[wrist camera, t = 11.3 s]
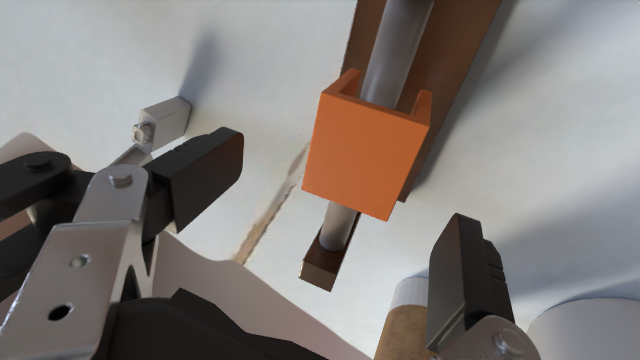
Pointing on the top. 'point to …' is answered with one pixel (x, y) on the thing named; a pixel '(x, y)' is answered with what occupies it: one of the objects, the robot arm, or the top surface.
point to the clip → (363, 148)
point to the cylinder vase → (589, 330)
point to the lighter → (156, 130)
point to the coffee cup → (406, 323)
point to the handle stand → (400, 89)
